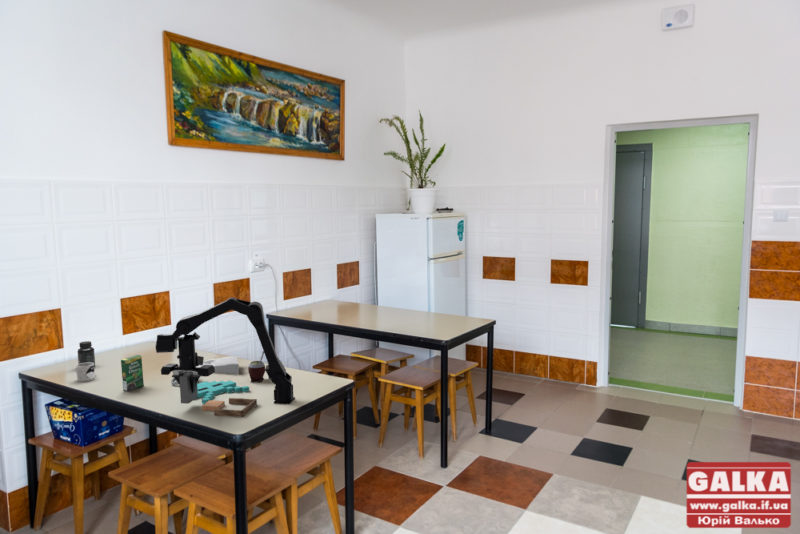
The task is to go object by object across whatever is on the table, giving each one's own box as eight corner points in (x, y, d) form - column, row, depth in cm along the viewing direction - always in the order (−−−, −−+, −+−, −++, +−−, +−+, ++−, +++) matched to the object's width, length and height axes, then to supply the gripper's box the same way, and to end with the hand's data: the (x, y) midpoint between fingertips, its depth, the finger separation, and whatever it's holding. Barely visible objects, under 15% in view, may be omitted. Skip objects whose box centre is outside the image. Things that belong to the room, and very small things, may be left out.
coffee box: (126, 391, 237) (124, 360, 236) (122, 390, 239) (120, 359, 237) (144, 386, 244) (142, 355, 243) (139, 385, 246) (137, 354, 244)
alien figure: (249, 392, 237) (220, 382, 250) (249, 386, 237) (220, 377, 250) (205, 406, 222) (177, 394, 235) (205, 400, 222) (176, 389, 234)
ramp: (183, 370, 268) (183, 358, 267) (211, 362, 281) (210, 350, 280) (226, 380, 253) (226, 368, 252) (253, 370, 266) (253, 359, 266)
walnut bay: (256, 404, 222) (256, 399, 222) (242, 416, 210) (242, 411, 209) (229, 402, 224) (229, 397, 223) (214, 415, 211) (214, 409, 211)
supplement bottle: (76, 368, 271) (74, 342, 269) (91, 364, 276) (90, 339, 274) (82, 371, 266) (80, 345, 265) (98, 367, 271) (96, 342, 270)
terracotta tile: (224, 406, 221) (224, 401, 221) (217, 411, 216) (217, 406, 215) (209, 405, 222) (209, 400, 222) (202, 411, 217) (201, 405, 216)
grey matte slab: (197, 397, 222) (196, 371, 221) (188, 403, 215) (187, 377, 214) (190, 396, 223) (189, 371, 222) (180, 403, 216) (179, 376, 215)
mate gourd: (245, 380, 251) (244, 346, 249) (261, 376, 256) (260, 343, 254) (255, 384, 245) (253, 349, 244) (271, 380, 251) (270, 346, 249)
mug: (89, 381, 251) (88, 366, 250) (74, 381, 251) (73, 366, 250) (101, 374, 261) (100, 360, 260) (86, 374, 260) (85, 360, 260)
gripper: (220, 346, 223) (222, 386, 225) (175, 345, 226) (177, 384, 228) (206, 354, 212) (208, 396, 214) (158, 352, 215) (161, 393, 217)
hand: (189, 392), depth 219 cm, fingers closed on grey matte slab, 3 cm apart
